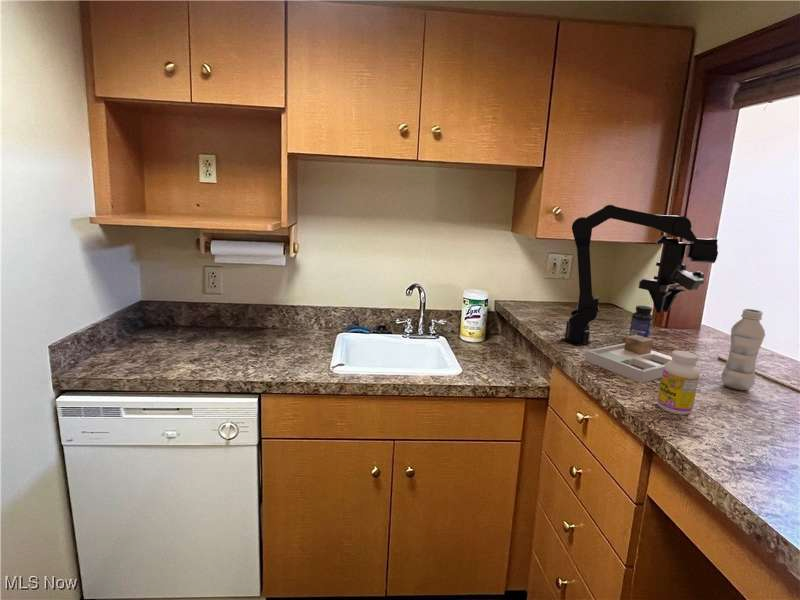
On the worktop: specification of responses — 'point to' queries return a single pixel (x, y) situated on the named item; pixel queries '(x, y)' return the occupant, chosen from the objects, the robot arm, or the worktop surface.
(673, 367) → the supplement bottle
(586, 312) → the robot arm
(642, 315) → the pill bottle
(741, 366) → the plastic bottle
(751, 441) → the worktop surface
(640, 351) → the walnut block
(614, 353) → the trap box
